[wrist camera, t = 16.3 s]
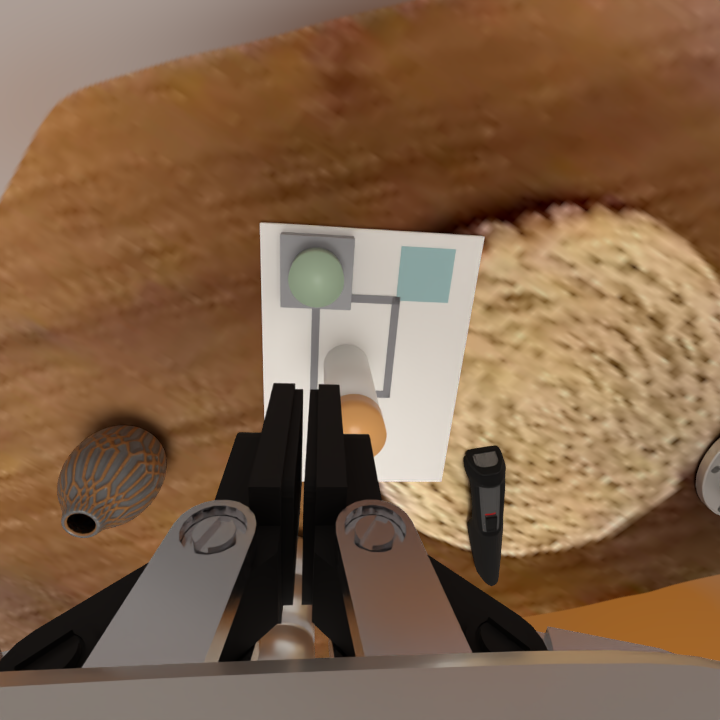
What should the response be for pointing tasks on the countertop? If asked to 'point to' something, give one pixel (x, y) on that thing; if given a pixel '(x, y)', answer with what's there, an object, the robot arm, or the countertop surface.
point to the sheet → (383, 335)
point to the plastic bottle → (291, 626)
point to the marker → (356, 393)
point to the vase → (110, 479)
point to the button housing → (301, 241)
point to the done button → (316, 277)
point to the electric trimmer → (486, 509)
